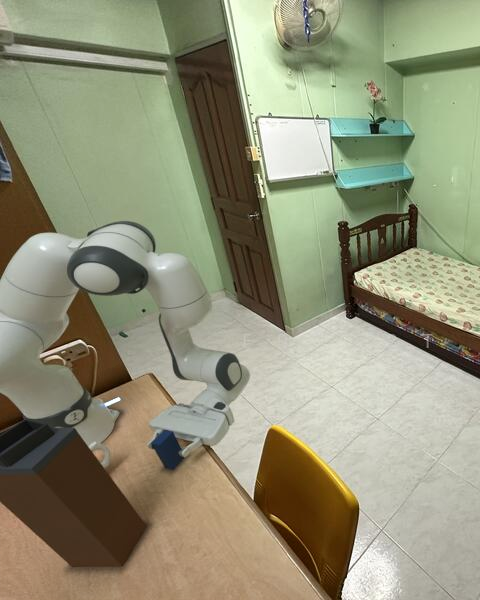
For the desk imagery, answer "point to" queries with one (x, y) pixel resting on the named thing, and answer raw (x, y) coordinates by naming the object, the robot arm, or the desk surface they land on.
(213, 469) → the desk surface
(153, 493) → the desk surface
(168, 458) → the small dark blue block
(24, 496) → the tall brown bin
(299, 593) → the desk surface
